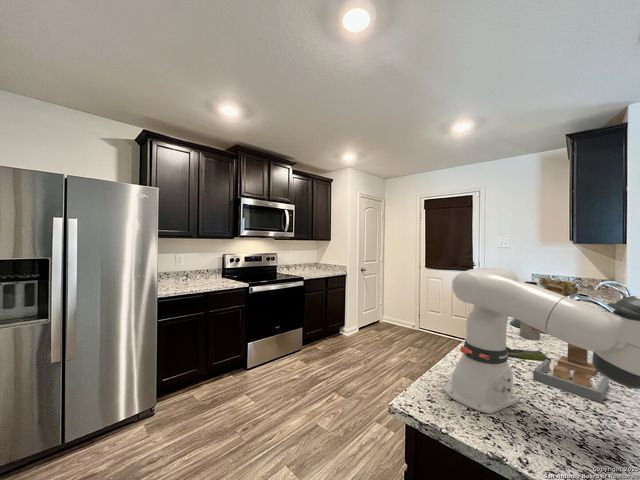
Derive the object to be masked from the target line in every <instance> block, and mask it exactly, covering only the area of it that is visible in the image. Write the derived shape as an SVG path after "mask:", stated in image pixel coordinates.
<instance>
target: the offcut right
mask: <svg viewBox="0 0 640 480" xmlns="http://www.w3.org/2000/svg"><path fill="white" fill-rule="evenodd" d="M572 382H573V383H576V384H579V385H582V386H585V387H589V388H591V384H592V376H591V375H589V374H585V373H582V372H578V371H574V370H573V373H572Z"/></svg>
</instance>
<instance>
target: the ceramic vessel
mask: <svg viewBox="0 0 640 480" xmlns="http://www.w3.org/2000/svg"><path fill="white" fill-rule="evenodd" d="M538 283H539V286H540V287H541V286H542V288H544V289H547V290H549V291H552V292H555V293H558V294H560V295H563V296H566V297H567V296H569V295H572V294H573V295H577V294H578V291H579V288H578V287H577V283H576V282H573V281H572V282H571V281H567V280H560V279H552V278H551V277H548V276H544V277H540V278H539V279H538Z"/></svg>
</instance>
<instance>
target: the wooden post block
mask: <svg viewBox="0 0 640 480" xmlns="http://www.w3.org/2000/svg"><path fill="white" fill-rule="evenodd" d="M588 352H589V350H586V349H583V348H580V347H577V346H574V345H572V344H569V343H567V356H566V355H561V356H560V357H559V359H557V364H556V365H558V366H562V367H565V368H569V369H571V371H573V372H574V371H578V372H582V373H585V374H589V375H591V377H596V374H597V373H598V372H599V371H598V370H597V369H596V368H595V367H594V365H593V362H592V363H591V362H589V361H588V357H589V356H588V355H589V353H588Z"/></svg>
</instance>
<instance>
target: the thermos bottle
mask: <svg viewBox="0 0 640 480" xmlns="http://www.w3.org/2000/svg"><path fill="white" fill-rule="evenodd" d="M524 283H528V284H533V285H536V286H538V282H536V281H524ZM519 323H520V325H519V336H520V337H521V338H523V339H525V340H531V341H540V340H541V331H540V330H538V329H536V328H534V327H532V326H530V325H528V324H526V323H524V322H522V321H520V320H519Z"/></svg>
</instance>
